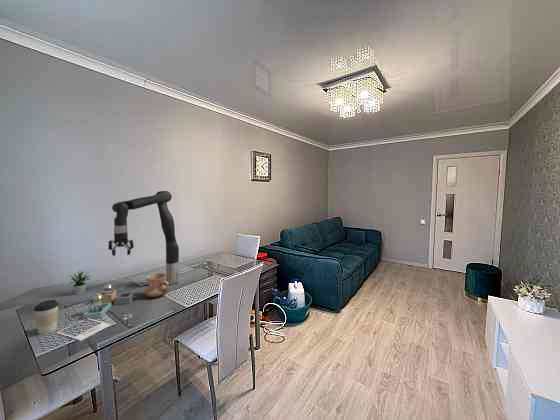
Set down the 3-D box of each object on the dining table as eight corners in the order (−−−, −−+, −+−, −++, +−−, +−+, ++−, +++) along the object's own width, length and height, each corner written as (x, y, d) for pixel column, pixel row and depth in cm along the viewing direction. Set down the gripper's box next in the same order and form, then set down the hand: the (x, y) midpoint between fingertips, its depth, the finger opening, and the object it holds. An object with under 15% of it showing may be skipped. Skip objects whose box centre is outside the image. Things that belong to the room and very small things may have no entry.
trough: (111, 306, 146) (111, 302, 146) (101, 317, 133) (101, 312, 133) (95, 307, 143) (94, 303, 143) (82, 318, 131) (82, 314, 131)
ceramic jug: (138, 297, 159) (138, 278, 158) (153, 289, 173) (153, 271, 172) (160, 301, 155) (160, 281, 154) (174, 292, 169) (174, 273, 168)
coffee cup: (37, 337, 114) (36, 308, 113) (32, 331, 118) (31, 303, 117) (62, 328, 121) (61, 301, 120) (56, 323, 126) (55, 297, 125)
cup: (116, 298, 157) (116, 290, 156) (111, 303, 150) (111, 294, 150) (104, 299, 155) (104, 290, 155) (99, 304, 148) (98, 295, 148)
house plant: (75, 299, 154) (74, 275, 153) (59, 296, 157) (58, 273, 156) (96, 290, 168) (95, 269, 167) (81, 288, 171) (80, 267, 170)
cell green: (104, 309, 141) (103, 292, 140) (100, 312, 137) (100, 295, 136) (95, 310, 140) (95, 293, 139) (92, 313, 136) (91, 296, 135)
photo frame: (80, 339, 112) (56, 332, 117) (80, 341, 112) (56, 334, 117) (110, 323, 126) (87, 317, 131) (110, 325, 126) (87, 319, 131)
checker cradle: (136, 295, 162) (136, 289, 161) (129, 304, 149) (129, 297, 149) (122, 296, 160) (122, 290, 159) (114, 305, 147) (113, 298, 147)
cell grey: (113, 299, 154) (113, 283, 154) (108, 301, 150) (108, 285, 150) (107, 298, 155) (107, 283, 155) (102, 301, 150) (102, 285, 150)
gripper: (134, 230, 160) (135, 253, 162) (111, 231, 157) (111, 254, 158) (130, 232, 153) (131, 256, 154) (106, 233, 150) (106, 257, 151)
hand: (121, 255), depth 156 cm, fingers open, 8 cm apart
